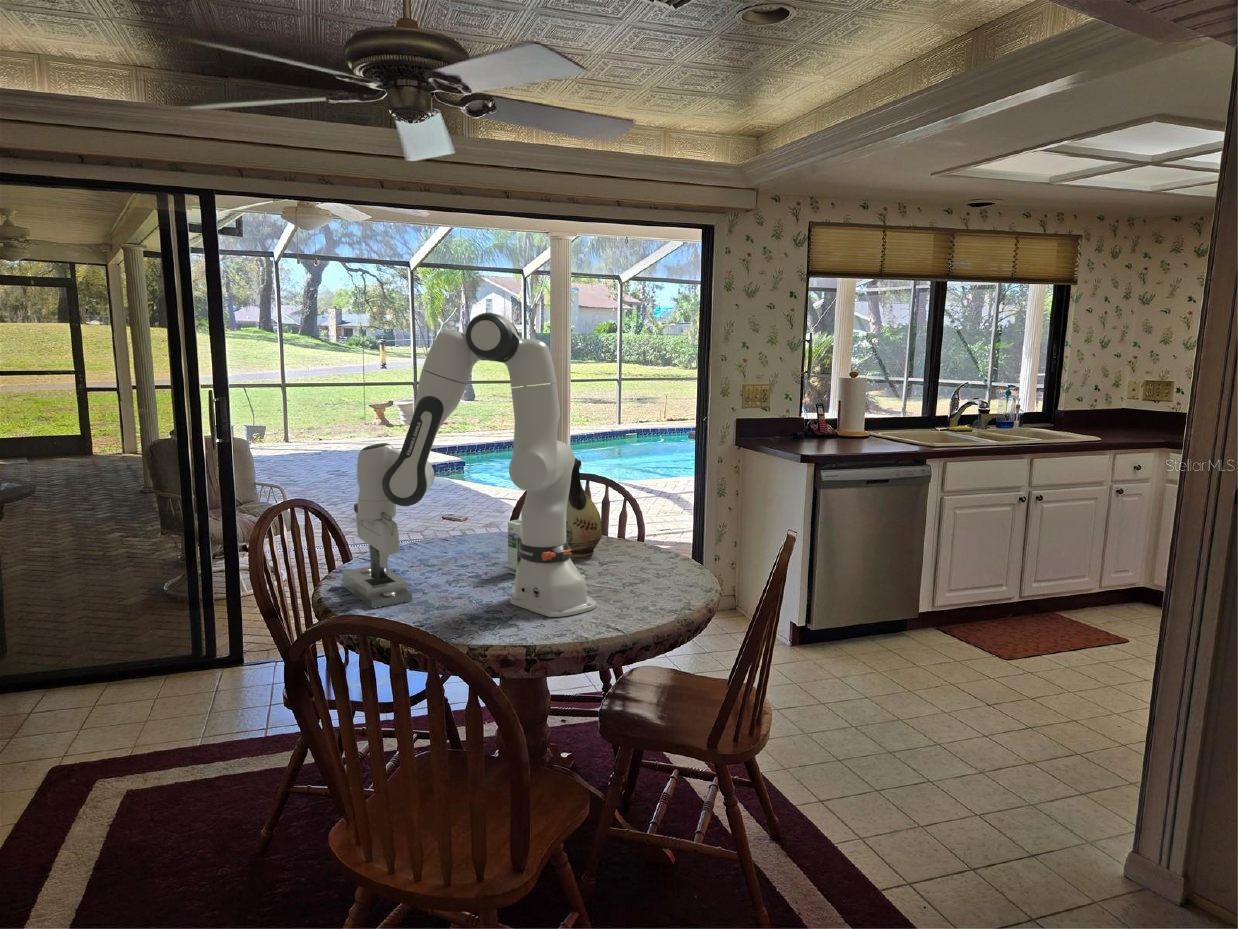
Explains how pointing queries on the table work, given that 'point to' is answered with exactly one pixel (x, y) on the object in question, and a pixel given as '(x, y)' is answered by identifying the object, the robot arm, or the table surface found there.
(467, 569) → the table surface
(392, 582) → the outer link end
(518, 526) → the syrup box
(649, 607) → the table surface
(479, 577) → the table surface
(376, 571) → the pin
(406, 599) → the inner link end
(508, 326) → the robot arm
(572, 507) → the ceramic jug
